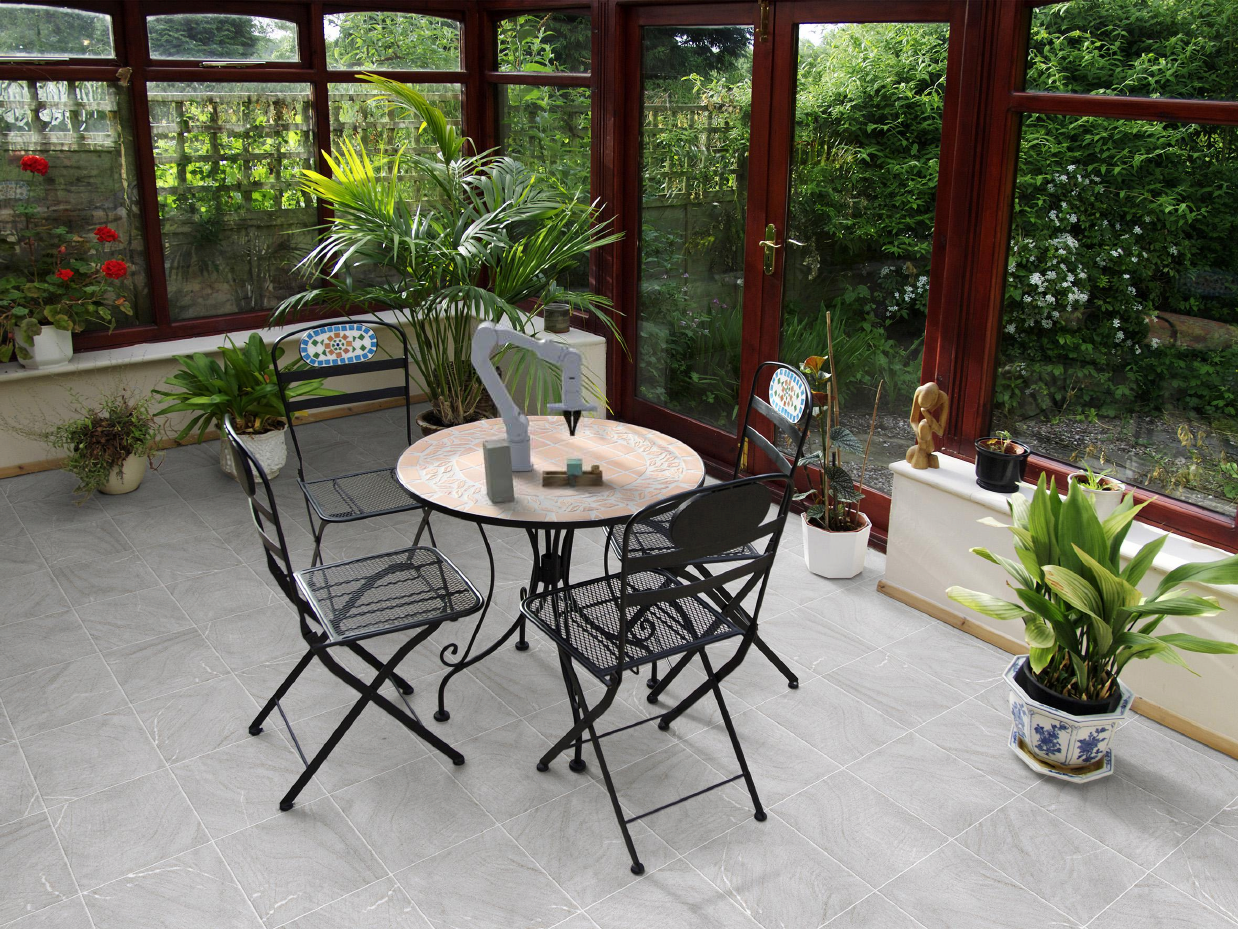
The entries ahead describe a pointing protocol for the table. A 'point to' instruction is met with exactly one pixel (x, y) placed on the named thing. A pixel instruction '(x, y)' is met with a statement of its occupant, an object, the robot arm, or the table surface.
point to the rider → (574, 466)
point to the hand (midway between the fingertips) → (572, 435)
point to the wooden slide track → (573, 478)
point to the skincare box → (498, 470)
